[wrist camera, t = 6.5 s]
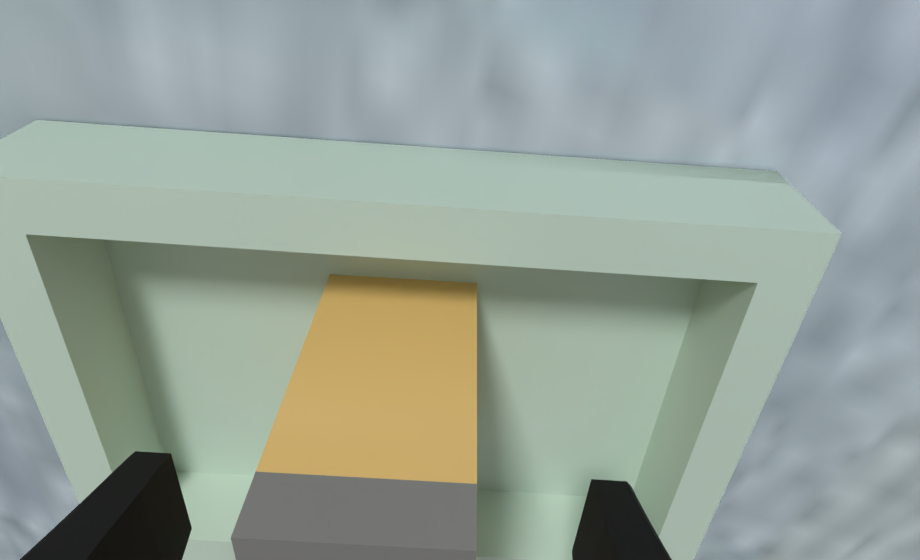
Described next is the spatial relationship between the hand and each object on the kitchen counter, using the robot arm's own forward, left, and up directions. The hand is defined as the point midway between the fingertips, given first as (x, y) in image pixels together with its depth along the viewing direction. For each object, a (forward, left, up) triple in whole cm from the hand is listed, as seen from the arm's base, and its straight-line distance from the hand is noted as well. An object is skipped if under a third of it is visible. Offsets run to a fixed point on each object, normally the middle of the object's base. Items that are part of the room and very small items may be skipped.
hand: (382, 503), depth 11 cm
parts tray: (0, 0, -4) cm, 4 cm away
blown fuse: (0, 0, -4) cm, 4 cm away
